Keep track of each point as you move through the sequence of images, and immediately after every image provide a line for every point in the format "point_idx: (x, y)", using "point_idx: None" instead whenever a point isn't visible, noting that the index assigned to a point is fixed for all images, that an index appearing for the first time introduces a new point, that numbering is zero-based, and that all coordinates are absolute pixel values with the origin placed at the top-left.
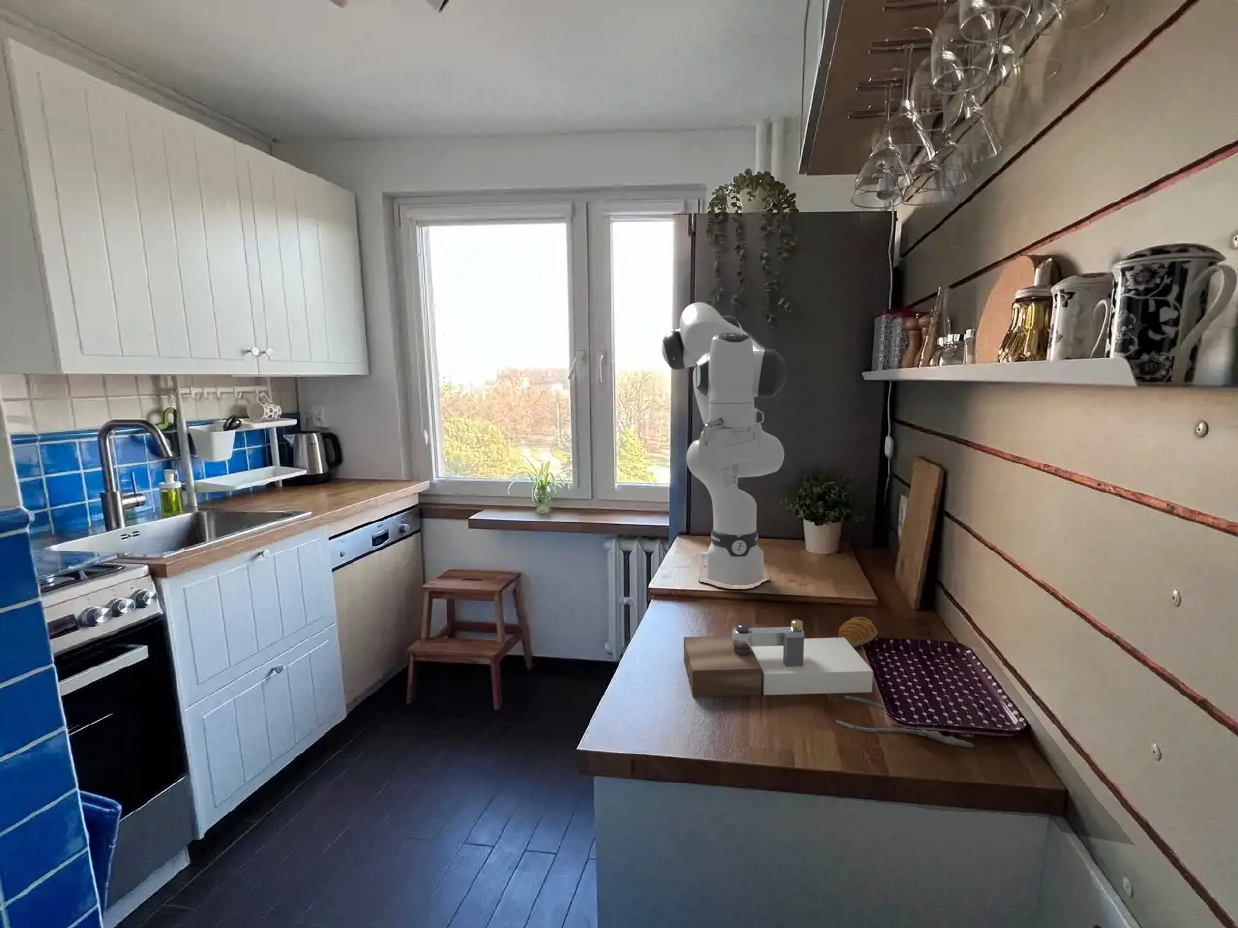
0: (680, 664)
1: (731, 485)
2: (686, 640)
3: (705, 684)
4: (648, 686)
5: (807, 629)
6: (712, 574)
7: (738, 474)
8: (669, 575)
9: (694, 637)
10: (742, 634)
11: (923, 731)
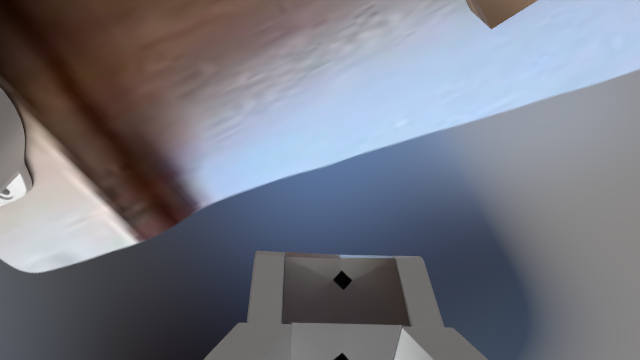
0: None
1: (411, 258)
2: (510, 12)
3: None
4: (610, 22)
5: None
6: (4, 169)
7: (231, 338)
8: (53, 259)
9: (484, 1)
10: None
11: None
